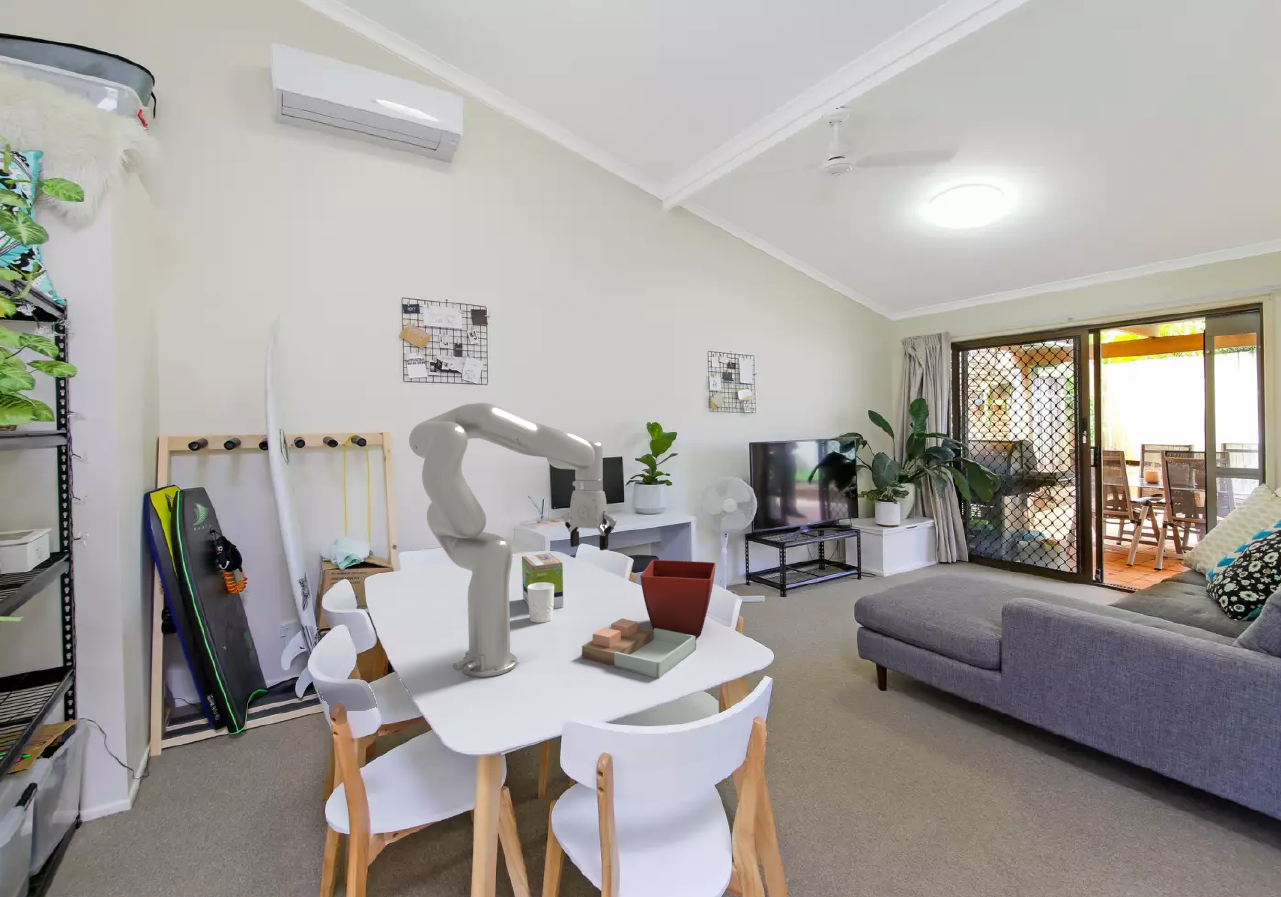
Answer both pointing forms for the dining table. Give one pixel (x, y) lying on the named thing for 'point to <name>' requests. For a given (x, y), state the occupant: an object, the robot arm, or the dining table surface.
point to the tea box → (543, 575)
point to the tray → (658, 653)
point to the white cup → (541, 601)
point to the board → (617, 647)
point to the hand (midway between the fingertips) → (589, 547)
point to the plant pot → (678, 594)
